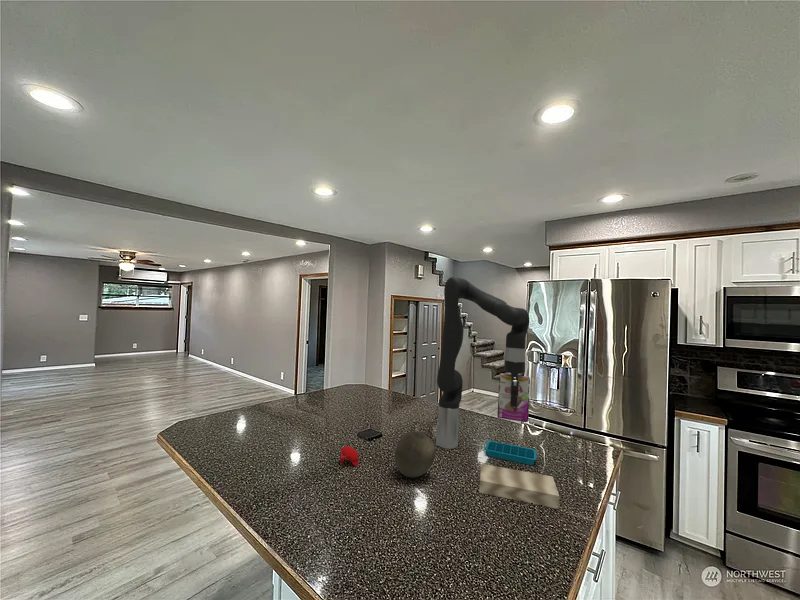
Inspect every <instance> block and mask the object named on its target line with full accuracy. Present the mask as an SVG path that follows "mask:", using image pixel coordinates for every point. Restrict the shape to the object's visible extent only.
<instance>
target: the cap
mask: <svg viewBox="0 0 800 600" xmlns="http://www.w3.org/2000/svg"><path fill="white" fill-rule="evenodd" d="M346 460H347V462H351V464H352V465H353V466H354V467H358V466H359V462H360V461H359V454H358V451H357V450H355V448H353V447H351V446H348V445H347V446H343V447H342V448H341V451H340V453H339V461H340V465H341V466H344V461H346Z"/></svg>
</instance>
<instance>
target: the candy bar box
mask: <svg viewBox="0 0 800 600" xmlns="http://www.w3.org/2000/svg"><path fill="white" fill-rule="evenodd" d="M511 377H512V376H511V373H502V372H500V373H499V378H498V379H499V382H498V395H497V396H498V397H497V399H498V400H497V415H496V416H497V419H502V420H509V421H510V420H511V421H517V422H523V423H528V422H529V413H530V412H529V411H530V390H531V389H530V388H531V378H530V376H527V375H520V374H518V381H519V390H518V397H517V407H512V406H511V395H510V394H511V390H510V389H509V386H510V383H511ZM513 392H515V393H516V390H513Z"/></svg>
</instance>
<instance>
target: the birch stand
mask: <svg viewBox="0 0 800 600" xmlns="http://www.w3.org/2000/svg"><path fill="white" fill-rule="evenodd" d="M480 468H481V469H480V475H479V485H478V486H479V489H478V491H479V492H478V493H479V494H483V495H488V494H489V495H488V496H493V495H494V497H499V498H503V499H509V500H512V499H513V501H517V502H522V501H523V502H522V503H527V502H528V503H527V504H531V503H533V505H536V504H537V505H538V506H541V505H542V507H545V508H552V509H556V510H560V494H559V491H558V488H557V485H556V483H555V480H554V477H553V476H551V475H544V474H540V473H535V472H529V471H523V470H519V469H512V468H509V467H508V468H507V467H503V466H502V467H501V466H496V465H491V464H486V463H485V464H484V463H481V465H480ZM537 505H536V506H537Z"/></svg>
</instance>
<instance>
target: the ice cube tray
mask: <svg viewBox="0 0 800 600" xmlns="http://www.w3.org/2000/svg"><path fill="white" fill-rule="evenodd" d="M484 450H485V451H486V456H487V457H490V456H491V457H490V458H495V459H501V460H505V461H509V462H515V463H519V464H524V465H528V466H534V465H535V461H537V450H536V449H533V448H530V447H525V446H518V445H515V444H509V443H504V442H499V441H494V440H487V442H486V444H485V447H484Z"/></svg>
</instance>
